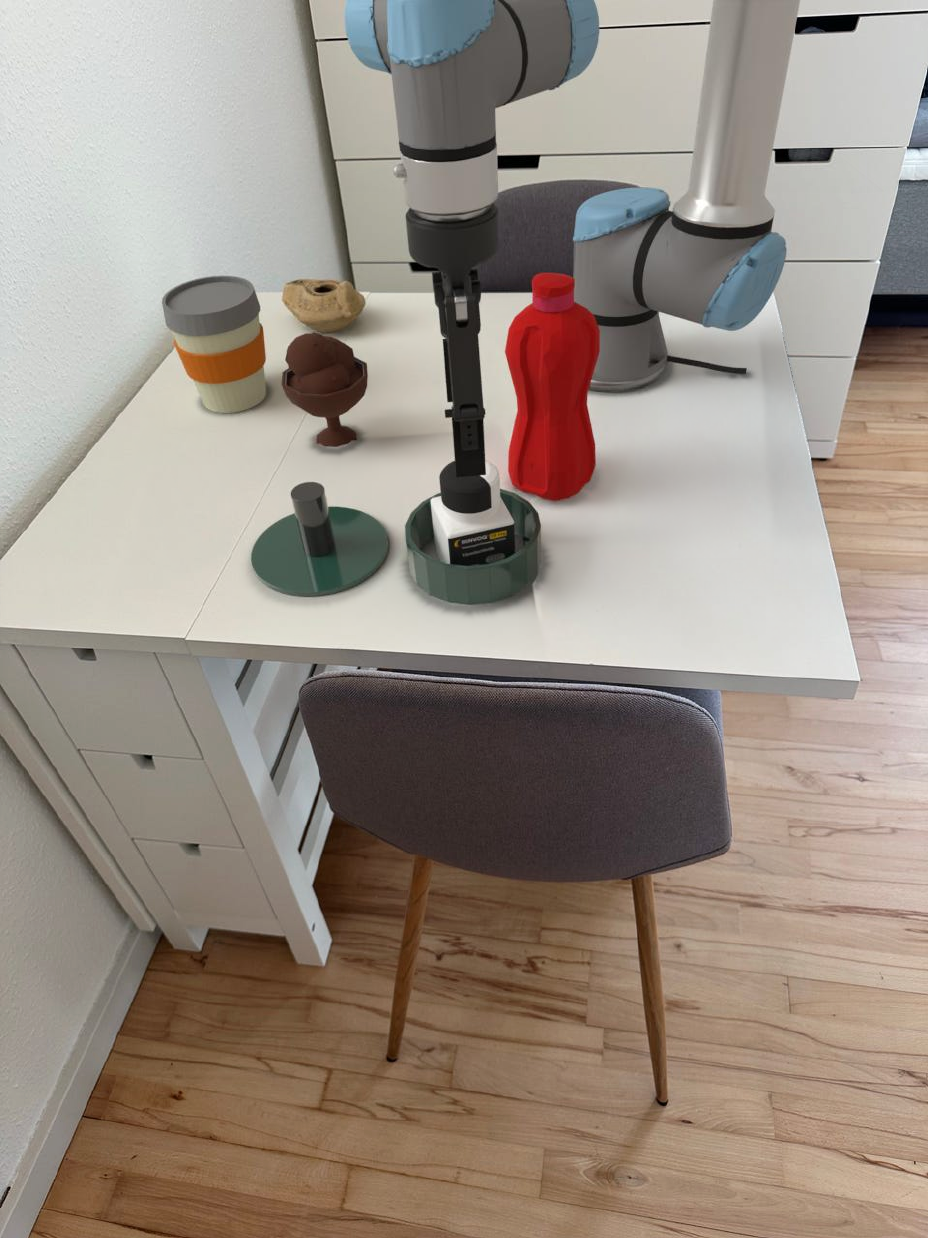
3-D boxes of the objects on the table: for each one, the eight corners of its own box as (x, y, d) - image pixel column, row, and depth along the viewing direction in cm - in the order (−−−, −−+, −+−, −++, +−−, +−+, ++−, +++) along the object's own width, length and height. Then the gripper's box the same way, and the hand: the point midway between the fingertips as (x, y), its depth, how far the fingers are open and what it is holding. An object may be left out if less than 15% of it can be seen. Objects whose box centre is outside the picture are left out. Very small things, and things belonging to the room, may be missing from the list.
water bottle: (610, 465, 111) (623, 261, 93) (566, 512, 104) (570, 302, 87) (545, 445, 115) (545, 246, 97) (498, 489, 108) (490, 285, 91)
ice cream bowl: (366, 464, 114) (348, 354, 104) (283, 459, 116) (257, 350, 106) (387, 420, 121) (373, 313, 111) (309, 416, 123) (288, 311, 113)
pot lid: (388, 509, 107) (378, 445, 101) (389, 593, 96) (379, 528, 90) (259, 520, 107) (243, 458, 101) (246, 607, 95) (226, 542, 89)
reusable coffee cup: (173, 413, 126) (140, 310, 116) (218, 371, 135) (191, 271, 124) (252, 424, 123) (226, 319, 112) (293, 380, 131) (272, 278, 121)
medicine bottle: (452, 589, 95) (443, 496, 87) (434, 549, 100) (425, 457, 92) (516, 574, 96) (514, 480, 88) (496, 535, 101) (492, 443, 93)
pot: (531, 519, 104) (531, 480, 100) (549, 601, 93) (549, 561, 90) (408, 530, 103) (403, 492, 100) (412, 614, 93) (406, 575, 89)
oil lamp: (301, 304, 150) (292, 256, 145) (381, 314, 145) (375, 265, 140) (266, 333, 143) (255, 284, 137) (350, 345, 138) (342, 294, 133)
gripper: (401, 161, 82) (421, 375, 96) (409, 269, 63) (432, 514, 78) (483, 154, 82) (491, 369, 96) (515, 261, 64) (519, 506, 78)
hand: (465, 434), depth 87 cm, fingers open, 13 cm apart
